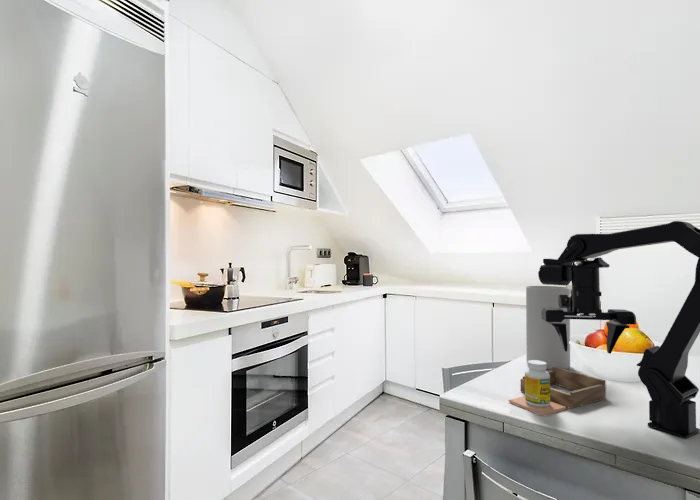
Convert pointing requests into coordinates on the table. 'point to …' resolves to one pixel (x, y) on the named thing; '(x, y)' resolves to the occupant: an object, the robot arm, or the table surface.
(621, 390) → the table surface
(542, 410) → the terracotta tile
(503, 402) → the table surface
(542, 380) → the supplement bottle
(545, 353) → the cylinder vase
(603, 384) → the brown wooden tray
